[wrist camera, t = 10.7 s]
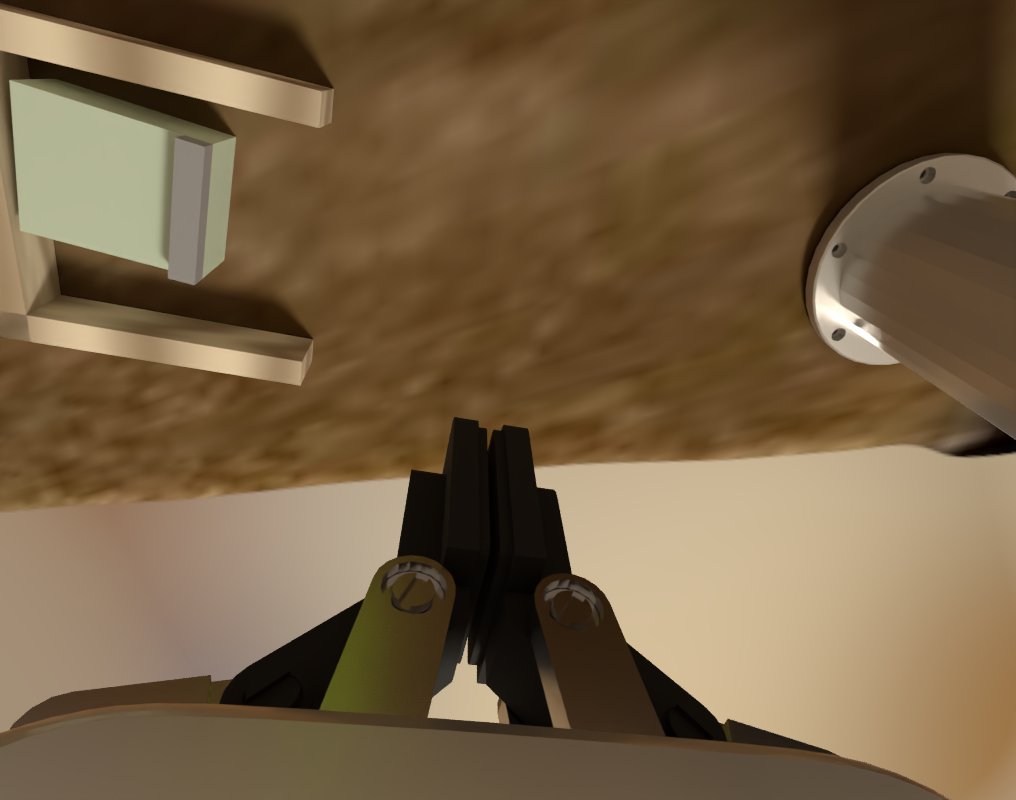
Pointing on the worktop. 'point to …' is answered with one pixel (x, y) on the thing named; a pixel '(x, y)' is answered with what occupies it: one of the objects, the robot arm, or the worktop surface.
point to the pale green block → (121, 177)
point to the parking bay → (31, 258)
